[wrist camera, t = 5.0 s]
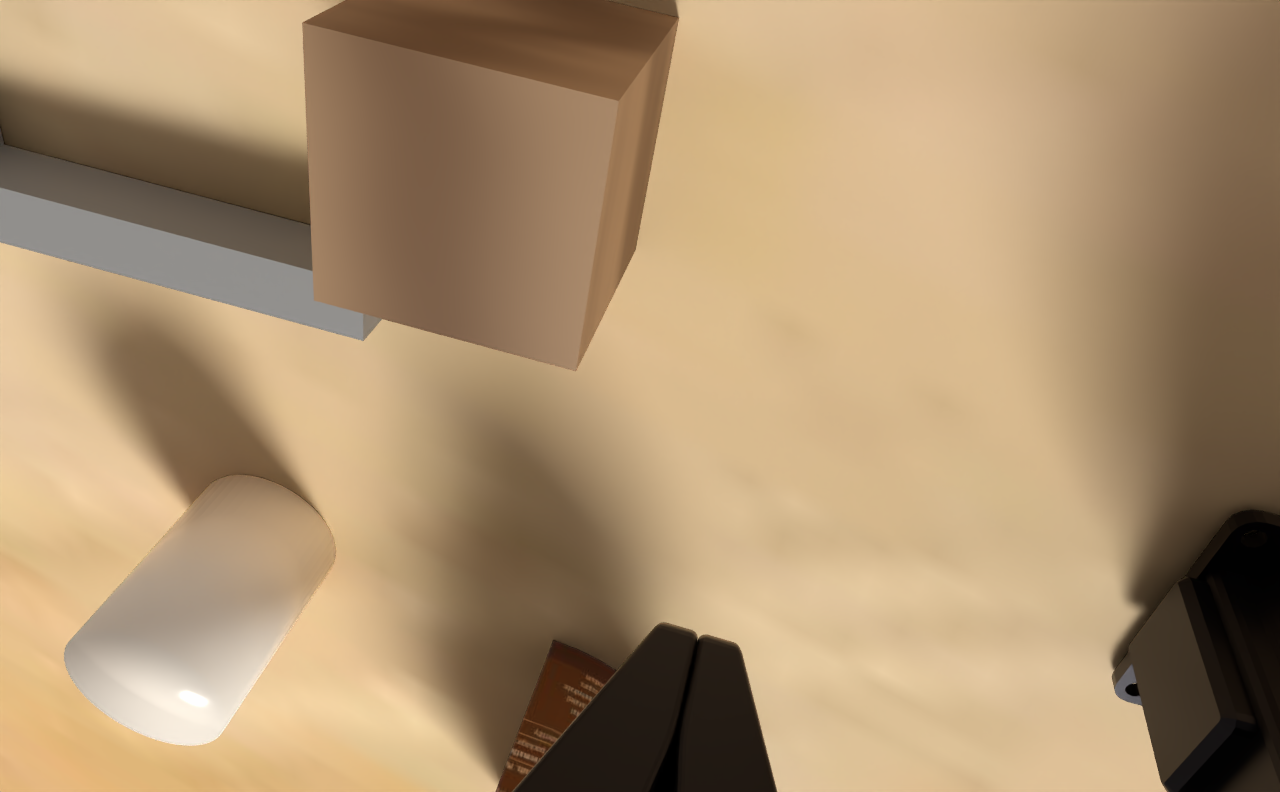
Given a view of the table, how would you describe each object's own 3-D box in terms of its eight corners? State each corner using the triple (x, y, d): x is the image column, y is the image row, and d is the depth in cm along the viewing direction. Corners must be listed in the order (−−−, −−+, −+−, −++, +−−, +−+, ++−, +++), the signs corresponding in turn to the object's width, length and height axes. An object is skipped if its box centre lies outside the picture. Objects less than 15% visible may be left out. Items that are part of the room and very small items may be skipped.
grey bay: (405, -231, 17) (359, -226, 15) (396, 302, 23) (363, 340, 22) (-189, -364, 18) (-286, -371, 16) (-37, 186, 24) (-96, 216, 23)
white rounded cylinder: (333, 498, 28) (217, 661, 23) (337, 599, 31) (232, 763, 26) (192, 458, 28) (48, 610, 23) (208, 560, 31) (81, 716, 26)
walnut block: (679, 16, 18) (618, 101, 14) (635, 247, 21) (576, 371, 17) (429, -44, 19) (302, 22, 15) (421, 192, 22) (313, 300, 18)
